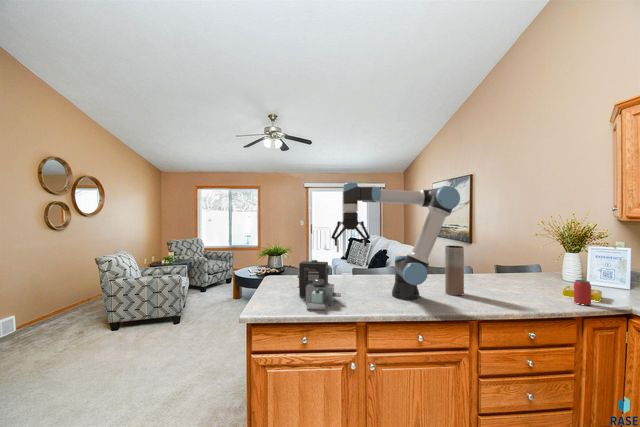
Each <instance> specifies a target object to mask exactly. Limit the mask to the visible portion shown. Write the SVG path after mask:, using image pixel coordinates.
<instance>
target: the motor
mask: <svg viewBox="0 0 640 427" xmlns="http://www.w3.org/2000/svg"><path fill="white" fill-rule="evenodd" d="M315 289H319V291H323V304H317V303H312V292H313V291H314V290H315ZM335 298H342V292H335V284H334V283H330V284H324V279H313V283H309V284H308V285H307V286H306V297H305V305H306V310H307V311H308V310H309V311H323V312H324V311H326V309H327V307H328V306H333V305H334V303H335Z"/></svg>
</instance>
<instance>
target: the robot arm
mask: <svg viewBox="0 0 640 427" xmlns="http://www.w3.org/2000/svg"><path fill="white" fill-rule="evenodd" d="M342 192H343V193H342V194H343V200H342V201H343V204H342V205H343V207H342V208H343V210H342V211H343V214H342V215H343V221H340V220H338V221H337V223H336V227H335V229H334V231H333V233H332V235H331V237H330V238H331V239H333V241H334V246H335V247H336V253H339V252H340V251H339V249H340V247H339V246H340V243H339V242H340V240H339V237H340V236H341V235H342V234H343V233H344V231H346V230H348V231H349V230H352V231H353V230H355V231H356V232H357V233H358V234H359V236H360V237H362V253H363V254H364V253H365V247H367V242H368V241H367V240H371V239H370V238H371V237H370V234H369V233H368V232H369V231H368V230H367V228H366V227H365V224H364V220H362V221H359V220H358V219H359V216H358V208H359V204H358V202H363V203H380V204H382V203H384V204H398V205H399V204H400V205H402V204H403V205H418V206H419V207H422V208H423V207H424V208H427V209H428V214H427V216H426V219H425V221H424V222H423V225H422V228H421V230H420V232H419V234H418V236H417V239H416V241H415V243H414V246H413V248H412V251H411V252H409V253H408V254H406V255H396V256H395V257H394V283H393V284H394V285H393V287H392V290H391V296H392V297H394V298H396V299H401V300H407V299H412V300H417V299H416V298H418V299H419V298H420V291H419V288H418V286H419V285H422V284H423V283H424V282H425V281H426V280H427V278H428V269H429V268H428V267H429V265H430V262H429V260H428V259H429V257H430V256H431V252H432V250H433V248H434V246H435V244H436V241H437V239H438V236H439V234H440V232H441V229H442V227H443V224H444V222H445V220H446V218H447V217H449V216H451V214H452V212H453V209H455V208H456V207H457V206H458V205H459V204H460V201H461V194H460V193H459V191H458V189H456V188H455V187H454V186H452V185H443V186H441V187H436V188H431V189H430V188H429V189H421V190H419V191H418V190H417V191H415V190H396V189H381V187H380V186H359V185H358V183H357V182H345V183H344V184H343V190H342ZM342 225H343V228H342V229H341V230H340V231H339V233H338V230H339V229H340V227H341V226H342ZM358 225H360V227H361V228H362V230H363V231H364V234H365V235H364V234H363V232H362V231H361V230H360V229H359V227H358ZM337 233H338V234H337ZM336 234H337V235H336Z"/></svg>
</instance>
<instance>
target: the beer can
mask: <svg viewBox="0 0 640 427" xmlns="http://www.w3.org/2000/svg"><path fill="white" fill-rule="evenodd" d="M573 287H574V299H573V302H574V303H575V302H576V303H579V304H584V305H590V304H591V305H592V302H591V289H592V285H591V282H590V280H589V281H588V280H585V279H584V280H582V279H575V281H574V283H573ZM576 303H575V304H576ZM591 305H590V306H591Z"/></svg>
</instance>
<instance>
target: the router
mask: <svg viewBox="0 0 640 427" xmlns="http://www.w3.org/2000/svg"><path fill="white" fill-rule="evenodd" d="M298 265H299V267H298V270H299V271H298V272H299V273H298V274H297V277H296V278H298V286H297V287H296V288H298V289H299V291H298V292H299V294H298V295H299V296H298V297H303V298H304V297H305V298H306V286H307V285H308V284H309V283H313V279H324V284H331V283H329V275H331V273H330V267H331V265H329V262H328V261H318V260H317V259H312V260H311V261H308V260H305V261H304V260H303V261H301V262H299V264H298Z"/></svg>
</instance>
